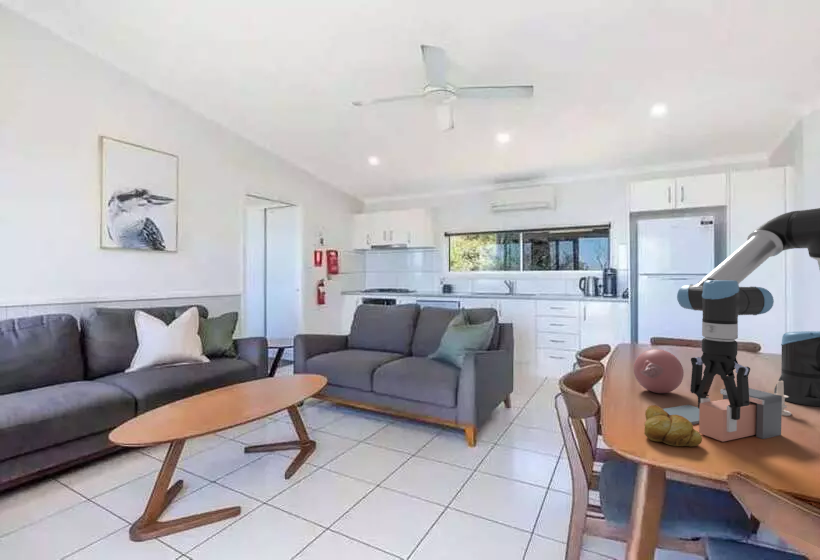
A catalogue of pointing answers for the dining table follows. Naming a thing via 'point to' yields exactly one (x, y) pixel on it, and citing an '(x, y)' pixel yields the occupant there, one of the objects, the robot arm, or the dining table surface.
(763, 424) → the box
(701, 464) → the dining table surface
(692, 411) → the mat
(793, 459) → the dining table surface
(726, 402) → the salmon pink rectangular block
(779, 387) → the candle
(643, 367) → the balloon
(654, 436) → the bread roll
